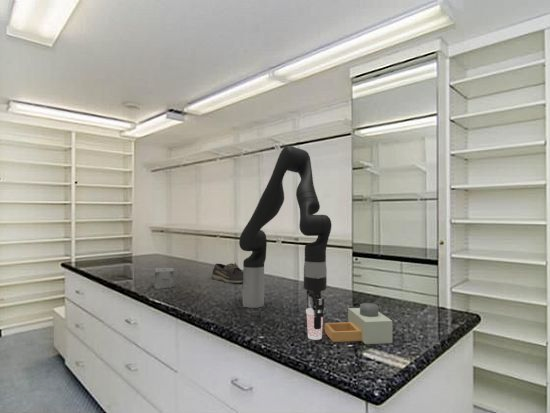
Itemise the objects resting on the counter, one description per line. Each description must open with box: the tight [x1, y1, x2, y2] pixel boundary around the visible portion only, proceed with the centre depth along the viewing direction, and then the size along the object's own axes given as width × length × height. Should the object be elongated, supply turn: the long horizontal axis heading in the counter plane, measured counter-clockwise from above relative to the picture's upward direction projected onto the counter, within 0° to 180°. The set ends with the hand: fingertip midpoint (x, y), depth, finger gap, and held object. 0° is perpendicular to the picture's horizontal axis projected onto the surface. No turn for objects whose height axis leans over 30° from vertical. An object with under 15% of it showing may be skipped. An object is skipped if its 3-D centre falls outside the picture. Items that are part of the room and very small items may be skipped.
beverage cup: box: [305, 308, 324, 341], centre depth 119 cm, size 6×6×14 cm
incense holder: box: [154, 266, 175, 290], centre depth 193 cm, size 10×8×10 cm
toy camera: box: [324, 302, 393, 345], centre depth 121 cm, size 19×16×10 cm
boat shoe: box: [211, 262, 243, 285], centre depth 212 cm, size 11×29×11 cm, turn 56°
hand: (314, 325), depth 119 cm, fingers closed on beverage cup, 6 cm apart
